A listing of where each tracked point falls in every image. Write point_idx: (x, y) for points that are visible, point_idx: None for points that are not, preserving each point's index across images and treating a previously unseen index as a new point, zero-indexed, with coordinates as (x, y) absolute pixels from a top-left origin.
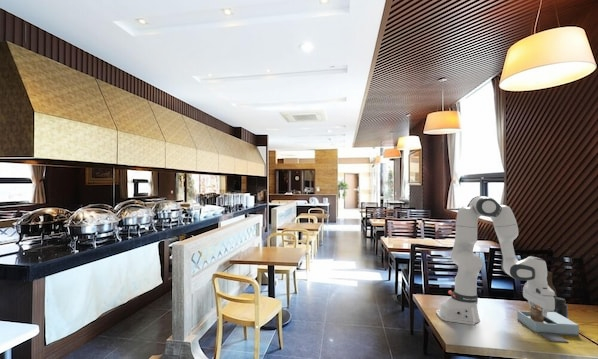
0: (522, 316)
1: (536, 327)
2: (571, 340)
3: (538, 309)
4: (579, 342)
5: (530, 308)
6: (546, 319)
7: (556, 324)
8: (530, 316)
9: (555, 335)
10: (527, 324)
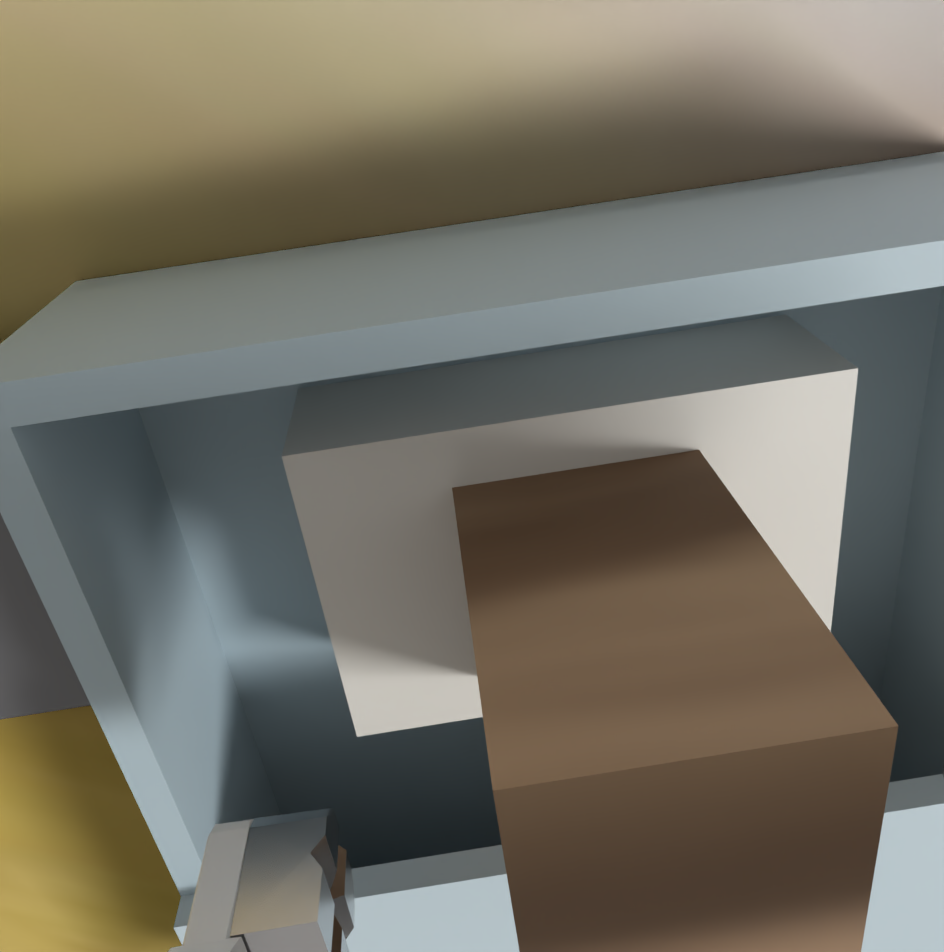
0: (805, 232)
1: (11, 340)
2: (32, 810)
3: (653, 923)
4: (8, 883)
5: (863, 682)
6: None
7: (185, 885)
8: None
9: (59, 645)
10: (479, 236)
